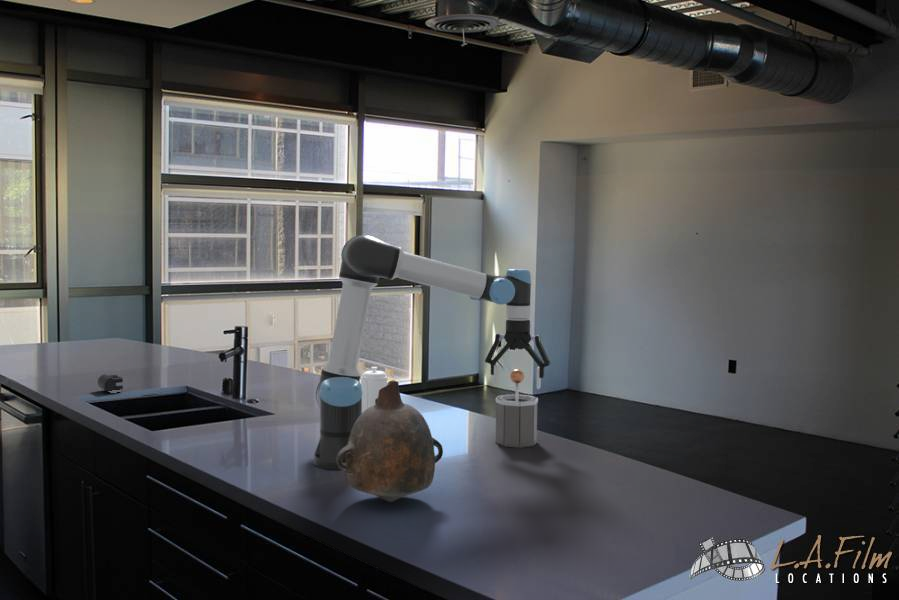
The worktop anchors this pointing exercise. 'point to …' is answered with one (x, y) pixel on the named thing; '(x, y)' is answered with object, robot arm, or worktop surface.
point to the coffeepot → (372, 386)
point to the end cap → (110, 382)
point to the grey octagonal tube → (516, 420)
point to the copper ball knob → (517, 380)
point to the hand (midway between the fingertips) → (517, 387)
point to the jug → (390, 449)
